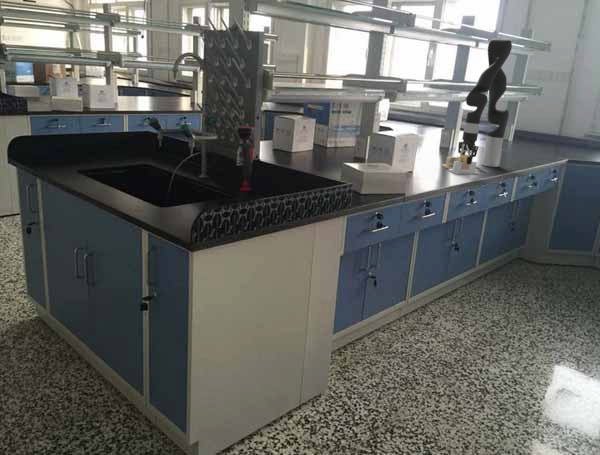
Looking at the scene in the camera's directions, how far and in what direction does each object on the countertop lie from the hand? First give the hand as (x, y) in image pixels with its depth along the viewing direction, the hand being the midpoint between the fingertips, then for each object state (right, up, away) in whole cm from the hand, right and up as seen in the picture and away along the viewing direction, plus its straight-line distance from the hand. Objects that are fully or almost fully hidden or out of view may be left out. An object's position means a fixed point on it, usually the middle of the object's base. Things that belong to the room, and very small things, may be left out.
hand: (465, 162), depth 284 cm
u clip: (0, 0, 0) cm, 0 cm away
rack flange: (0, -5, +2) cm, 5 cm away
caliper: (+7, -3, +13) cm, 15 cm away
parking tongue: (-4, -1, +13) cm, 13 cm away
